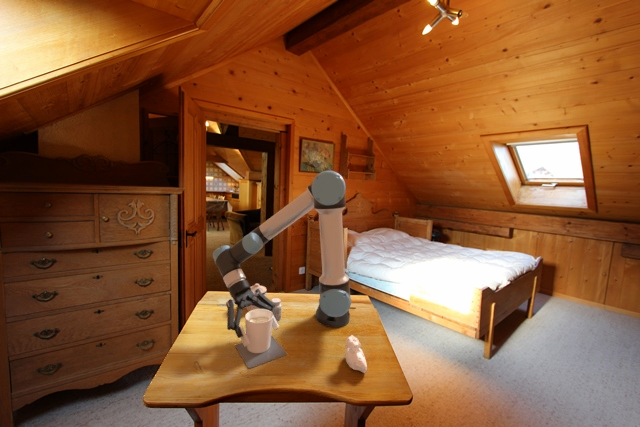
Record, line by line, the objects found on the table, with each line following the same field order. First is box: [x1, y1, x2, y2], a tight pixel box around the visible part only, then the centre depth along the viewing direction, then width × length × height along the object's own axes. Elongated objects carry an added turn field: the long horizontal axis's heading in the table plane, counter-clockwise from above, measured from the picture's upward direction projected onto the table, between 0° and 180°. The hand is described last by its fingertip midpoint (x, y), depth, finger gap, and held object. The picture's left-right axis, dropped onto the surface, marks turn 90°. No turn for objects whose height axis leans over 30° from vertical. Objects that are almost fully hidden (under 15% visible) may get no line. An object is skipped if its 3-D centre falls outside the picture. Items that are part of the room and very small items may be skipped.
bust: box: [344, 334, 368, 374], centre depth 94 cm, size 12×8×11 cm
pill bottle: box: [270, 297, 282, 322], centre depth 121 cm, size 5×5×8 cm
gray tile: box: [234, 334, 289, 370], centre depth 100 cm, size 14×14×1 cm
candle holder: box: [244, 309, 273, 353], centre depth 100 cm, size 10×10×12 cm
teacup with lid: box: [246, 283, 268, 312], centre depth 128 cm, size 12×9×12 cm
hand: (263, 336), depth 99 cm, fingers open, 13 cm apart
